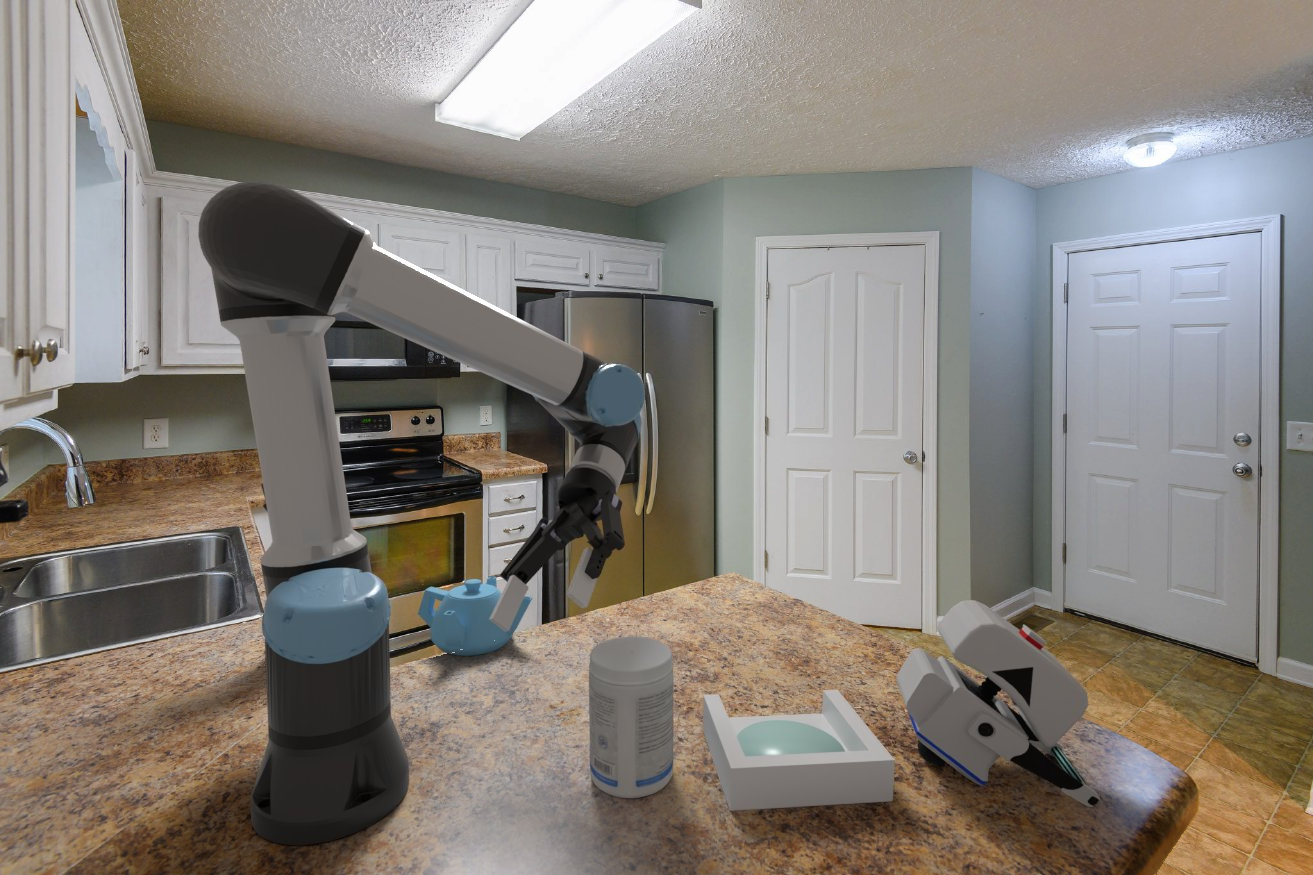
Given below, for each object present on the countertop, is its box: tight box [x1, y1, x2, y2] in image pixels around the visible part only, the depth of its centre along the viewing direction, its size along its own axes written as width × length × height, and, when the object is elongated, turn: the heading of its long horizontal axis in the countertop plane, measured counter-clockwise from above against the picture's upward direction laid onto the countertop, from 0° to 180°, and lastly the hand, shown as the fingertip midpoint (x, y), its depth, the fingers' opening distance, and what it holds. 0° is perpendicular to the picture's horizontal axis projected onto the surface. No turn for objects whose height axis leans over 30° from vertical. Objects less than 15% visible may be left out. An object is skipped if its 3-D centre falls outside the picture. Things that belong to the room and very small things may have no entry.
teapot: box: [417, 576, 533, 657], centre depth 111 cm, size 15×15×11 cm
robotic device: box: [896, 599, 1101, 808], centre depth 76 cm, size 10×21×20 cm
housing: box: [702, 689, 896, 812], centre depth 77 cm, size 18×16×5 cm
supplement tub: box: [588, 636, 674, 799], centre depth 73 cm, size 10×10×15 cm
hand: (535, 614), depth 74 cm, fingers open, 13 cm apart
